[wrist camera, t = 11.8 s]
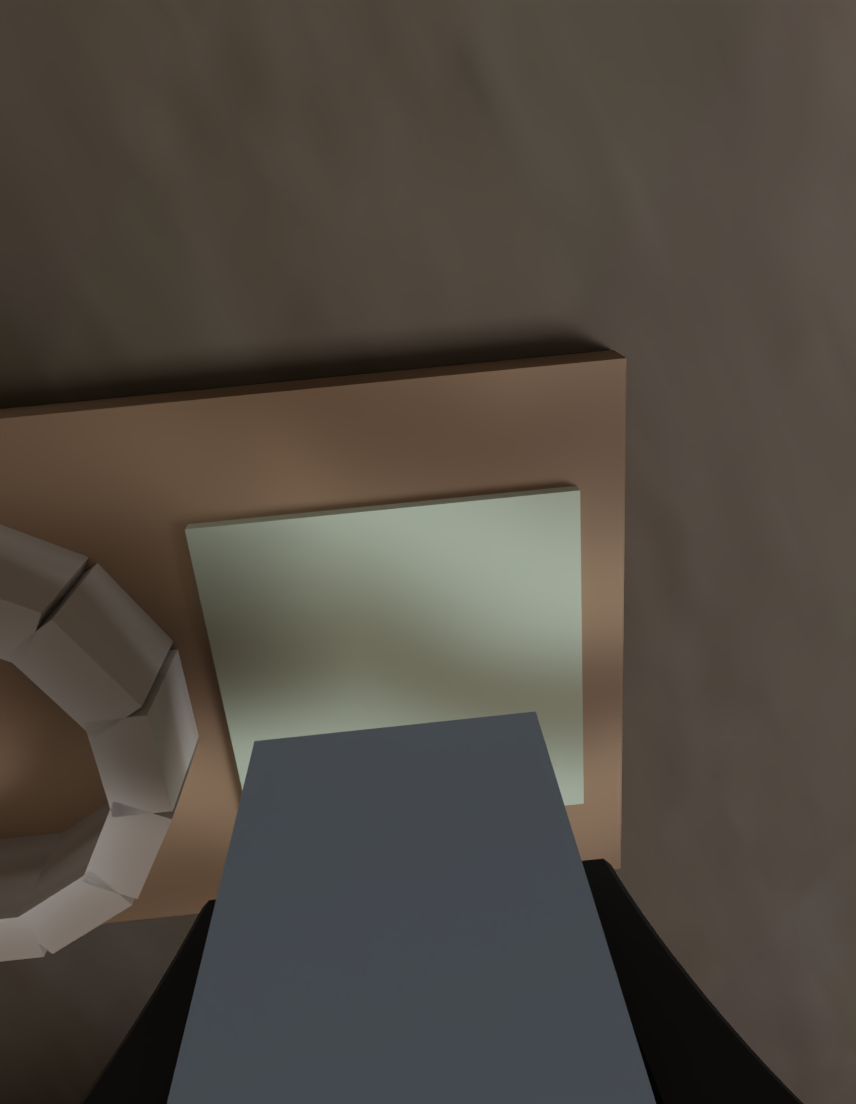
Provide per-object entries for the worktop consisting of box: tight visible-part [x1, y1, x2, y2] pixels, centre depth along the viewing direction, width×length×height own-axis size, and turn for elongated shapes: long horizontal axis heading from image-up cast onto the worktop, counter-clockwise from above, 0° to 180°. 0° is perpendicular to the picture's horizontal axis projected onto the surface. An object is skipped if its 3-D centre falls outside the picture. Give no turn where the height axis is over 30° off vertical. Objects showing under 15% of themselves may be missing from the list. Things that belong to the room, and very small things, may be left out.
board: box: [0, 350, 626, 961], centre depth 17 cm, size 13×20×4 cm, turn 95°
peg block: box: [167, 711, 656, 1104], centre depth 10 cm, size 4×4×7 cm
